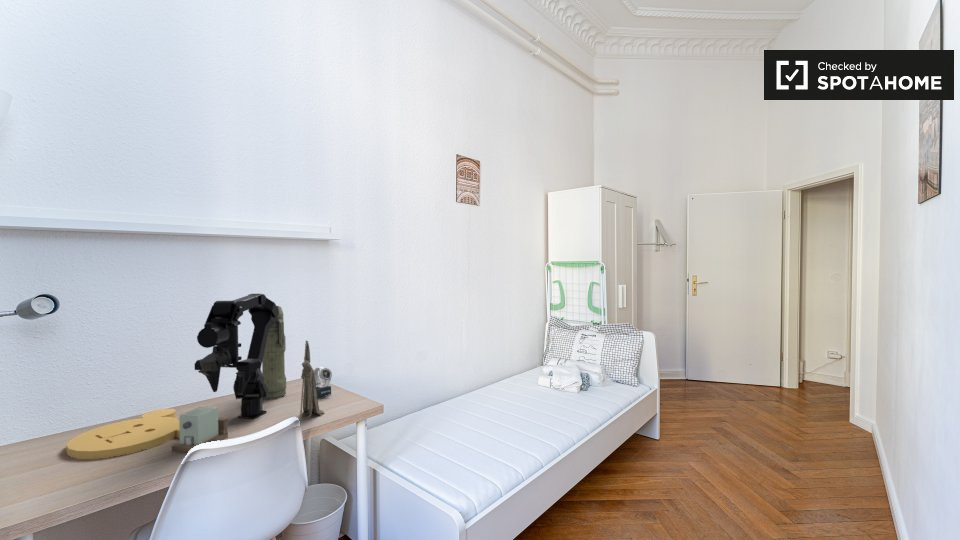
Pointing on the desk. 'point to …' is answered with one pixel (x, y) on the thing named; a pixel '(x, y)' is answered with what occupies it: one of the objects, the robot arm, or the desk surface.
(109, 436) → the decorative plaque
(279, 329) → the thermos
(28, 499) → the desk surface
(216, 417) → the cabinet block
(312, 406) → the wizard figurine
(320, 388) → the watch
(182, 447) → the cleat board
